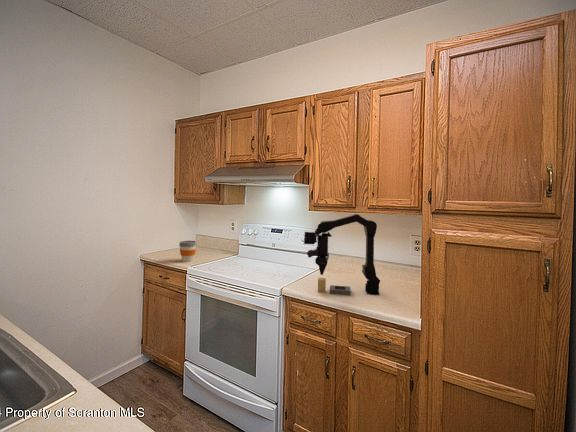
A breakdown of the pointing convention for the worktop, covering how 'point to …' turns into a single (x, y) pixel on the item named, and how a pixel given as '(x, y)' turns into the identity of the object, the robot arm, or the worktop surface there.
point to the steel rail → (340, 290)
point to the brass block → (321, 285)
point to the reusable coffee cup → (187, 250)
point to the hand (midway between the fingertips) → (322, 272)
